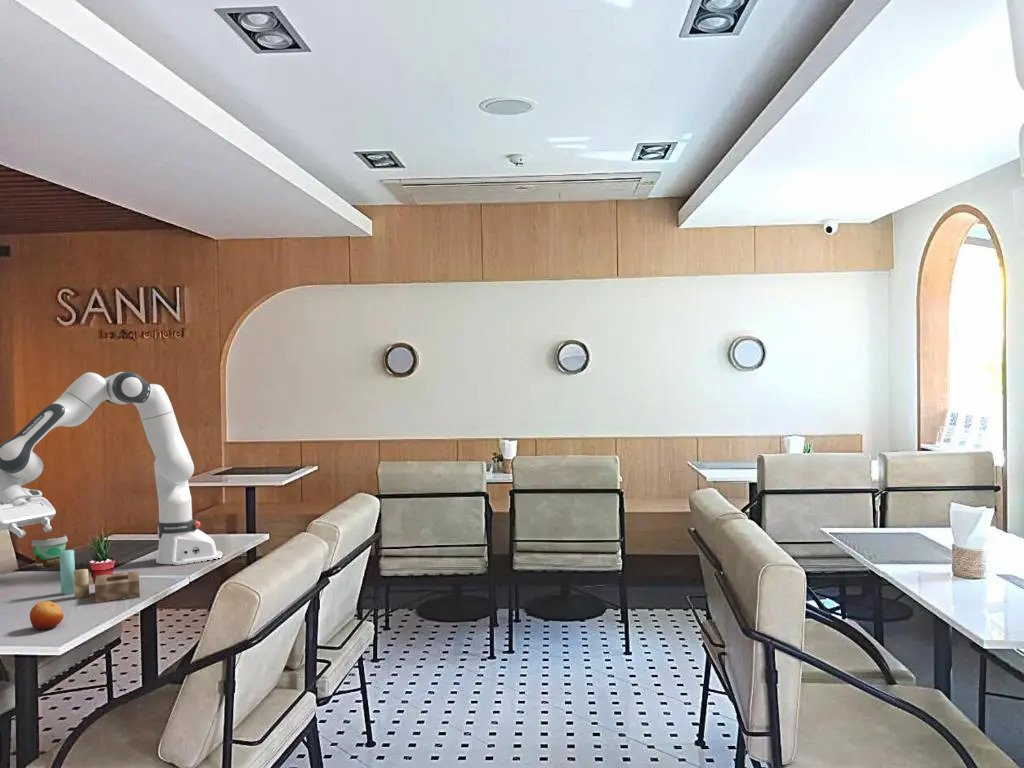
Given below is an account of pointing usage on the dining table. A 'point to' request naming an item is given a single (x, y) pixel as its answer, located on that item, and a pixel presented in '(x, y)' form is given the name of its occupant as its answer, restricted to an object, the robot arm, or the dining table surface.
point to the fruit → (46, 615)
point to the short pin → (81, 583)
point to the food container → (49, 551)
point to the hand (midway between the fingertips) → (36, 533)
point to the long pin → (67, 571)
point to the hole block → (117, 586)
